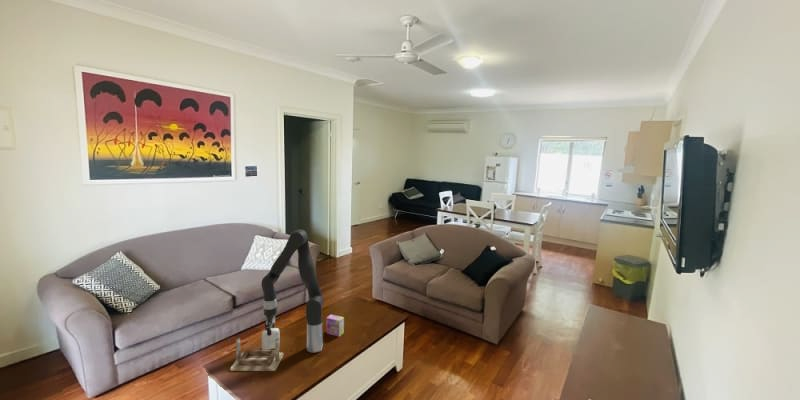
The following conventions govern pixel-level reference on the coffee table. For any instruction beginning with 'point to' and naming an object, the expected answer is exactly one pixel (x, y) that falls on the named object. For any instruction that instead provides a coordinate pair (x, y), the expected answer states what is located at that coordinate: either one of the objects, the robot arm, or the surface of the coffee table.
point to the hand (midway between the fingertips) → (270, 332)
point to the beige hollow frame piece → (256, 359)
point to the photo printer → (270, 339)
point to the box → (335, 325)
